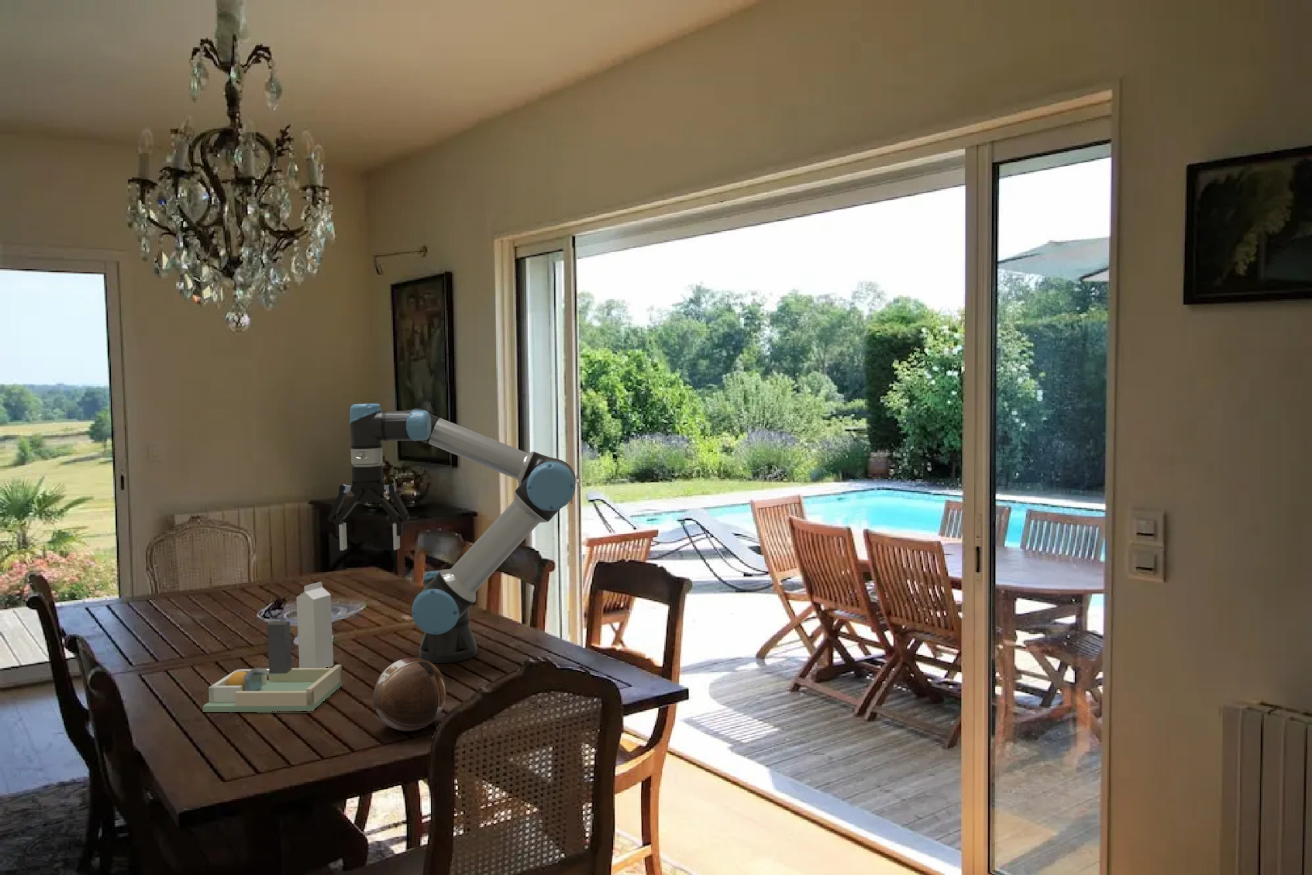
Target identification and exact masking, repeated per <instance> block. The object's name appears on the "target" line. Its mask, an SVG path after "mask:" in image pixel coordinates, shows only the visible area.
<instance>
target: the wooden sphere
mask: <svg viewBox="0 0 1312 875" xmlns="http://www.w3.org/2000/svg"><path fill="white" fill-rule="evenodd" d="M447 691H448V690H447V683H446V680H445V677H444V675H443V674H442V672H441V670H440V669H439V668H438V667H437V666H436V665H435V664H434V663H431V662H429V661H426V660H424V659H420V657H405V658H401V659H399V660H397V661H396V660H395V661H394V662H393V663H391V664H389V665H388V666H387V667H386V668H385V669H384V670H383V671H382V672H381V673H380V675H379V676H378V678H377V680H376V682H375V685H374V688H373V695H372V696H373V698H372V699H373V705H374V708H375V711H376V713H377V715H378V717H379V718H380V719H381V721H382V722H383V723H385V724H386V725H387V726H389V727H390V728H392V729H394V730H397V731H400V732H414V731H418V730H421V729H423V728H426V727H428V726H429V725H430V724H432V723H433V722H435V720H437V718H438V717H439V716H440V714H441V713H442V711H443V709H444V707H445V704H446V700H447V694H448V692H447Z"/></svg>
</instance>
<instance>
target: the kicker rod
mask: <svg viewBox="0 0 1312 875" xmlns="http://www.w3.org/2000/svg"><path fill="white" fill-rule="evenodd" d="M266 627H267V648H268V650H267V651H268V668H262V667H256V668H250V669H251V670H250V672H249V673H248V674H246V675H245V676H244V682H245V691H257V690H258V689H260V688H261V687H262V675H267V676H269V675H281V674H285V673H288V672H289V671H290V670H292V668H293V667H292V666H293V664H292V663H293V662H292V644H291V643H292V642H291V621H290V620H289V621H288V620H285V621H284V620H282V621H281V620H279V621H276V620H275V621H274V620H273V621H271V622H269V623H268V624H266Z"/></svg>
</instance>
